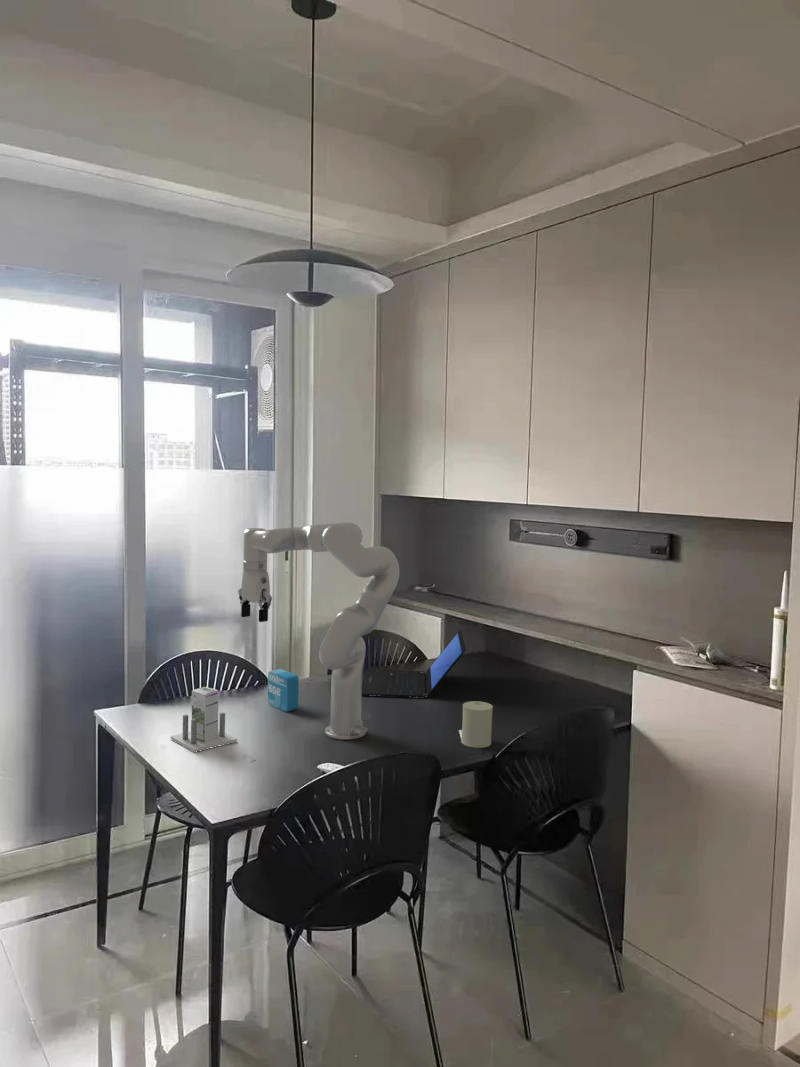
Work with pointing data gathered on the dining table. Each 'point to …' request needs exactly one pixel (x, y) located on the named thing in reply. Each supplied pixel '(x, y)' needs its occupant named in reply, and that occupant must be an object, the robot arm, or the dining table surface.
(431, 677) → the laptop
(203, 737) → the syrup box
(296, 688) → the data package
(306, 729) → the dining table surface
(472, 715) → the can
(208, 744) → the peg stand
